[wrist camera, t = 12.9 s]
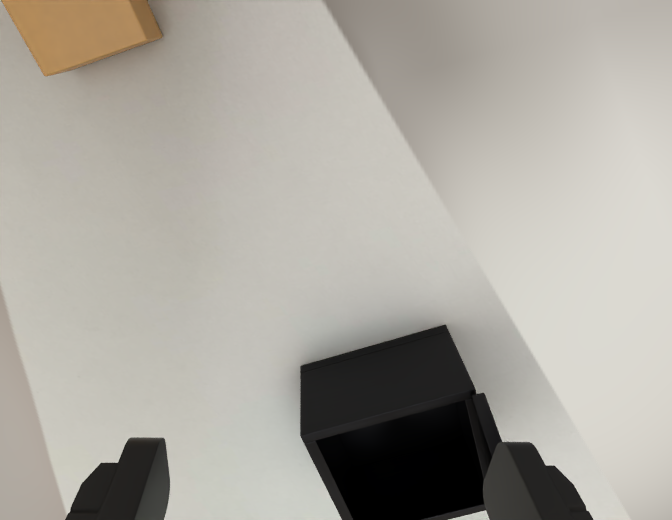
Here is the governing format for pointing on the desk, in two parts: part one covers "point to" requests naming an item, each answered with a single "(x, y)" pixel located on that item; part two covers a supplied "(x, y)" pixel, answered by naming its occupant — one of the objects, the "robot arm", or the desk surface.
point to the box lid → (486, 426)
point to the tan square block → (81, 29)
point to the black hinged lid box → (395, 430)
